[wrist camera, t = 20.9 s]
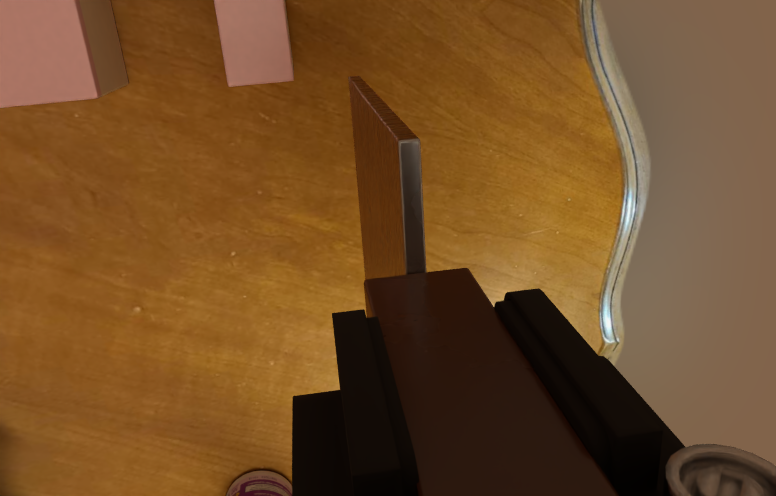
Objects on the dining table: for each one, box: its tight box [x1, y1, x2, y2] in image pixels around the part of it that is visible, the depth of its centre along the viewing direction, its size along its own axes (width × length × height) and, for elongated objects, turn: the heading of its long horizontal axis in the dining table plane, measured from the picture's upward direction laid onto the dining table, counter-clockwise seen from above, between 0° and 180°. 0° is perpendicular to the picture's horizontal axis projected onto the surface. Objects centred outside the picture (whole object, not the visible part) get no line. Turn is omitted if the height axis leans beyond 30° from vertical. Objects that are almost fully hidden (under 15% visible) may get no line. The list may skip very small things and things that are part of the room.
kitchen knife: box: [348, 76, 619, 496], centre depth 14 cm, size 8×2×18 cm, turn 4°
